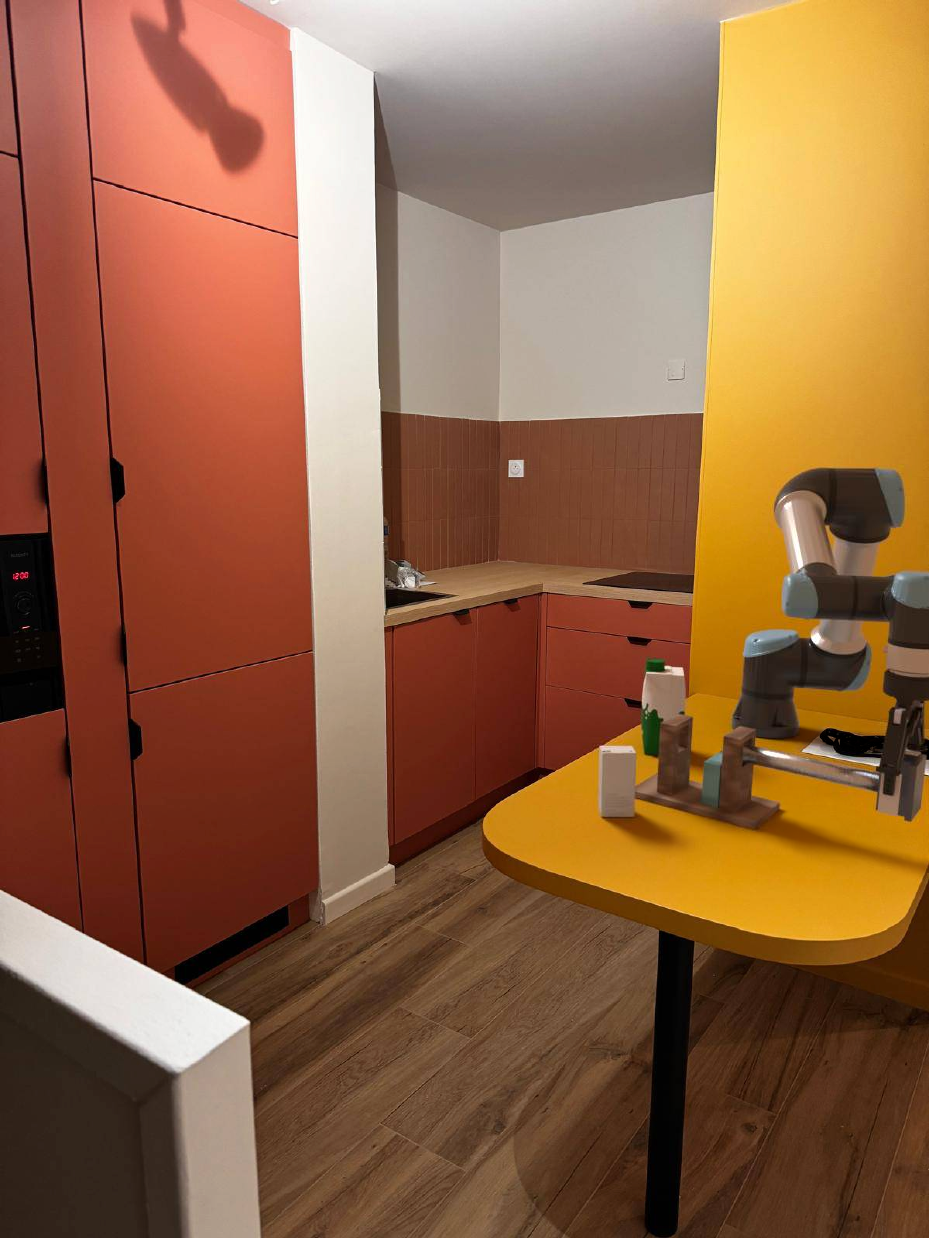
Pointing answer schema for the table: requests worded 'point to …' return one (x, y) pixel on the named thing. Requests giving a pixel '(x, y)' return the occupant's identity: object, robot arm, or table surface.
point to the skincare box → (617, 781)
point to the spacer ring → (712, 781)
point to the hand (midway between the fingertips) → (897, 800)
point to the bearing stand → (687, 794)
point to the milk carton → (660, 700)
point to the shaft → (847, 774)
